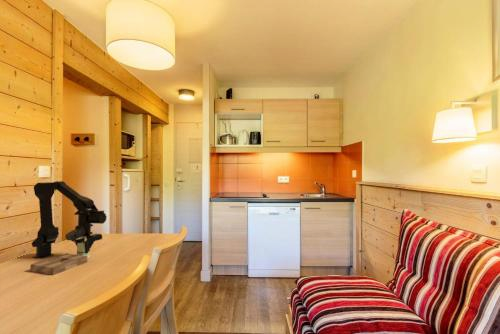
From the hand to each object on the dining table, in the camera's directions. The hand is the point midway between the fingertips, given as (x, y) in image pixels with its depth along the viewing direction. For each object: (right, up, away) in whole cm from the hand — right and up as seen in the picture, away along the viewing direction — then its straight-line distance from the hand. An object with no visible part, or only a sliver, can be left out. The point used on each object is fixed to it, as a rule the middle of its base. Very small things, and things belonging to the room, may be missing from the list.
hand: (83, 252), depth 126 cm
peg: (0, -3, 0) cm, 2 cm away
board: (-2, -2, -12) cm, 13 cm away
